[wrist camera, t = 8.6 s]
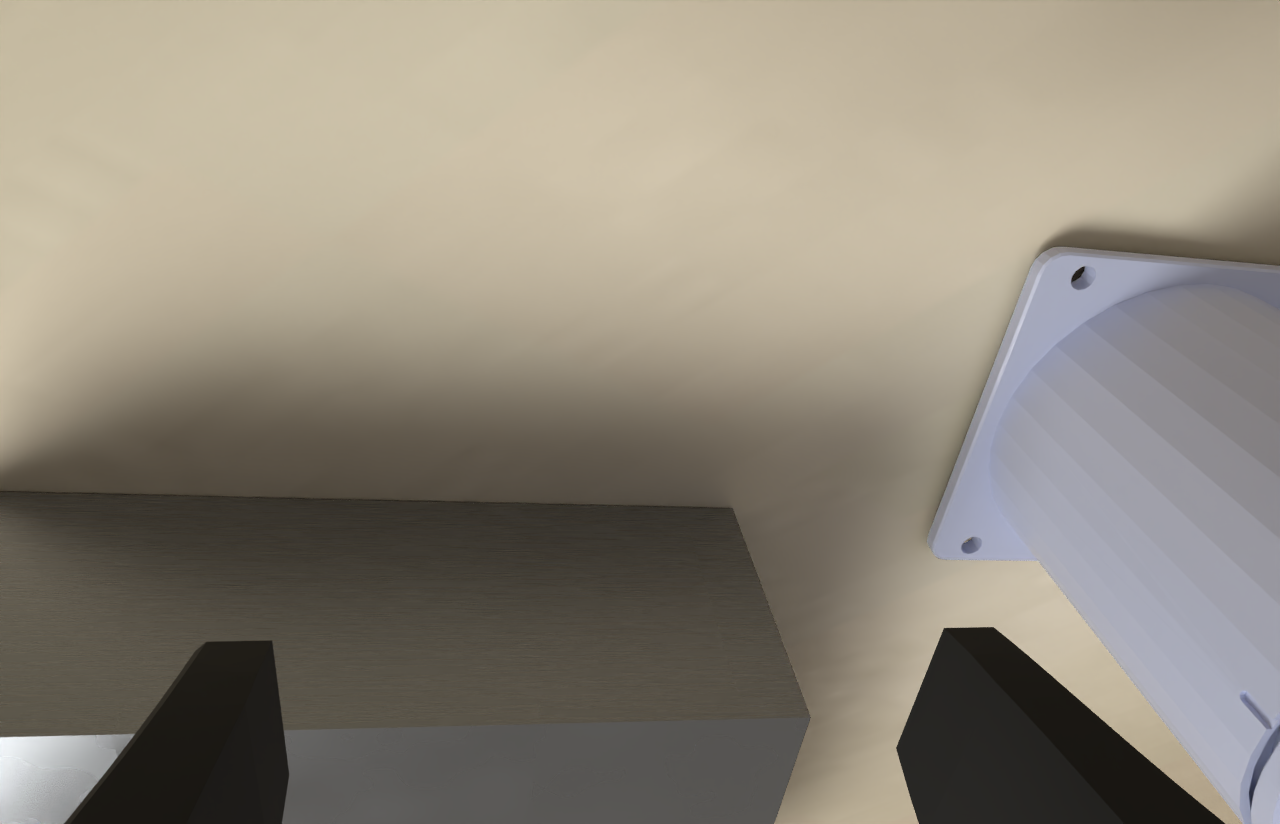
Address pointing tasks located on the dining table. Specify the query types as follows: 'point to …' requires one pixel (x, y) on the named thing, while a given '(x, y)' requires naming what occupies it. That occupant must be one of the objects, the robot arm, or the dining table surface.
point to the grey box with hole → (407, 654)
